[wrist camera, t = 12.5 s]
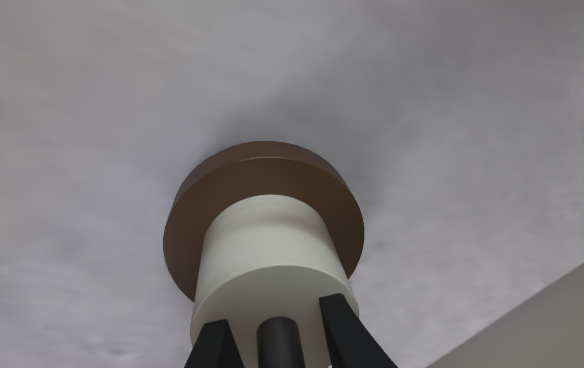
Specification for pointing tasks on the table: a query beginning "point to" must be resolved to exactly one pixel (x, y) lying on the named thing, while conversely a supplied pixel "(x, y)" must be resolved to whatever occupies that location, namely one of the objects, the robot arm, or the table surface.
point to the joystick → (265, 249)
